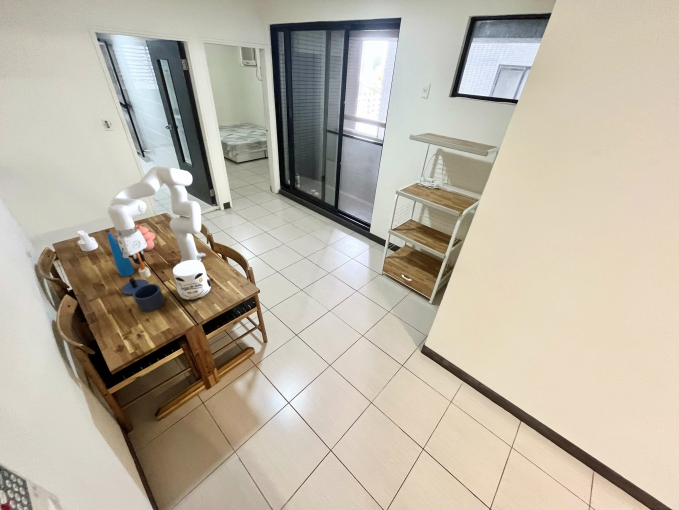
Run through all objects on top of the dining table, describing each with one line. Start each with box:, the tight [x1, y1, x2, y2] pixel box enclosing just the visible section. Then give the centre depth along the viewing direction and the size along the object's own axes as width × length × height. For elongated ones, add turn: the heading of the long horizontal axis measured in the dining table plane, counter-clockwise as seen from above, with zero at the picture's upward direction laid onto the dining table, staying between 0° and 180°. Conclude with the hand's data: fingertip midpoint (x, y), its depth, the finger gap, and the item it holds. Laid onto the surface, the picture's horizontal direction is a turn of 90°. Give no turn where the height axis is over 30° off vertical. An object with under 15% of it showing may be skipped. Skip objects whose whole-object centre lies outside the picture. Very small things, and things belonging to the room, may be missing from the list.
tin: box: [132, 283, 166, 313], centre depth 147 cm, size 12×12×9 cm
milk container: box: [172, 260, 212, 301], centre depth 154 cm, size 17×17×18 cm
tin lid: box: [121, 277, 149, 296], centre depth 158 cm, size 13×13×6 cm
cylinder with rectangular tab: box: [76, 229, 99, 252], centre depth 186 cm, size 9×9×12 cm
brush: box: [136, 252, 152, 279], centre depth 138 cm, size 4×4×19 cm
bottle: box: [104, 228, 136, 277], centre depth 162 cm, size 7×7×30 cm
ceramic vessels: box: [135, 224, 156, 252], centre depth 194 cm, size 35×21×19 cm, turn 46°
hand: (140, 262), depth 139 cm, fingers closed on brush, 2 cm apart
